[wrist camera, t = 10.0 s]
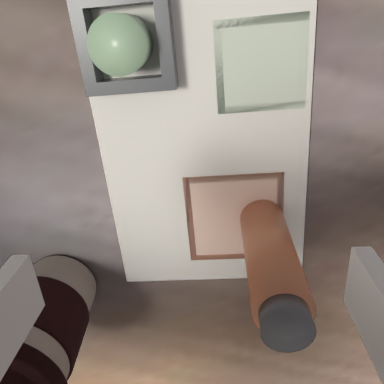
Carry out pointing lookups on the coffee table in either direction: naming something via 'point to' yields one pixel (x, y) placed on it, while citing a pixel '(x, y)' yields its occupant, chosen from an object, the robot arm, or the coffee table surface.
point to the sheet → (210, 136)
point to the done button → (119, 43)
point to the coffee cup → (55, 323)
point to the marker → (276, 279)
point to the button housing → (98, 86)
